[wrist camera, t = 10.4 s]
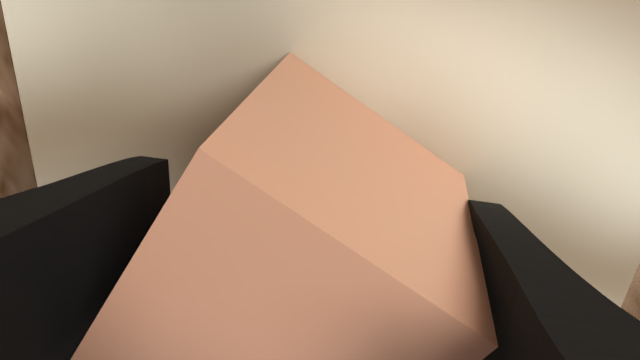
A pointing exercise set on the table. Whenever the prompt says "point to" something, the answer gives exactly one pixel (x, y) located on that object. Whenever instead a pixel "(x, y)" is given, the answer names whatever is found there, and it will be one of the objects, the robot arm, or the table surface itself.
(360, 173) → the salmon pink cube
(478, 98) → the post board
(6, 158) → the table surface
